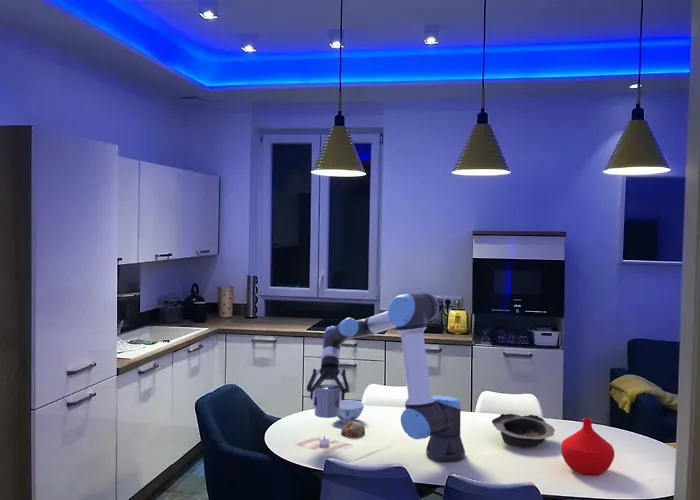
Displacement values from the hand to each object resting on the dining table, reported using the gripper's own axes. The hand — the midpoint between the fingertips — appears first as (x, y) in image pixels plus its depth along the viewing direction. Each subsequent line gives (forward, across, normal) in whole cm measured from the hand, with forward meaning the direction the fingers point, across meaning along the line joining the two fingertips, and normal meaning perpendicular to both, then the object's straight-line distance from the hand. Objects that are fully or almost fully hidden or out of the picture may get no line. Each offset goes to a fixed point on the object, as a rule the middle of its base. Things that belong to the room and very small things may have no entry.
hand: (326, 406), depth 251 cm
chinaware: (-15, -6, -41) cm, 44 cm away
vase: (+24, -98, 0) cm, 101 cm away
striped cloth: (+10, +1, -15) cm, 18 cm away
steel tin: (+1, 0, -5) cm, 5 cm away
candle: (+10, +1, -14) cm, 17 cm away
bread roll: (0, -10, -26) cm, 27 cm away
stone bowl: (+2, -82, -22) cm, 85 cm away
